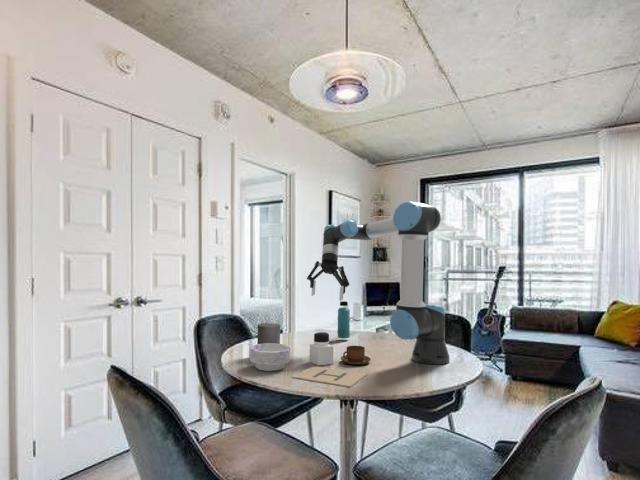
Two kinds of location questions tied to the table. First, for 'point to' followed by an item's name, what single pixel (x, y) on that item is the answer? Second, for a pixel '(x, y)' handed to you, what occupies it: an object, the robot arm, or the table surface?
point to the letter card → (330, 376)
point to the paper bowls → (269, 356)
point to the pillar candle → (268, 333)
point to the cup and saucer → (355, 356)
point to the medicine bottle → (321, 350)
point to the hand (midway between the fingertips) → (327, 297)
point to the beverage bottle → (343, 321)
